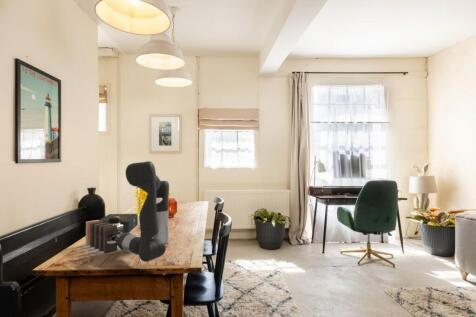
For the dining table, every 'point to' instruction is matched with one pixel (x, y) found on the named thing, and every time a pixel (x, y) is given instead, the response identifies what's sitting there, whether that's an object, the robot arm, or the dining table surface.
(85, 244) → the felt strip
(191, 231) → the dining table surface
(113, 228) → the tile
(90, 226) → the tile
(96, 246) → the tile
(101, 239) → the tile
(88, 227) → the tile
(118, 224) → the medicine bottle
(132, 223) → the cash box
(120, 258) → the dining table surface
